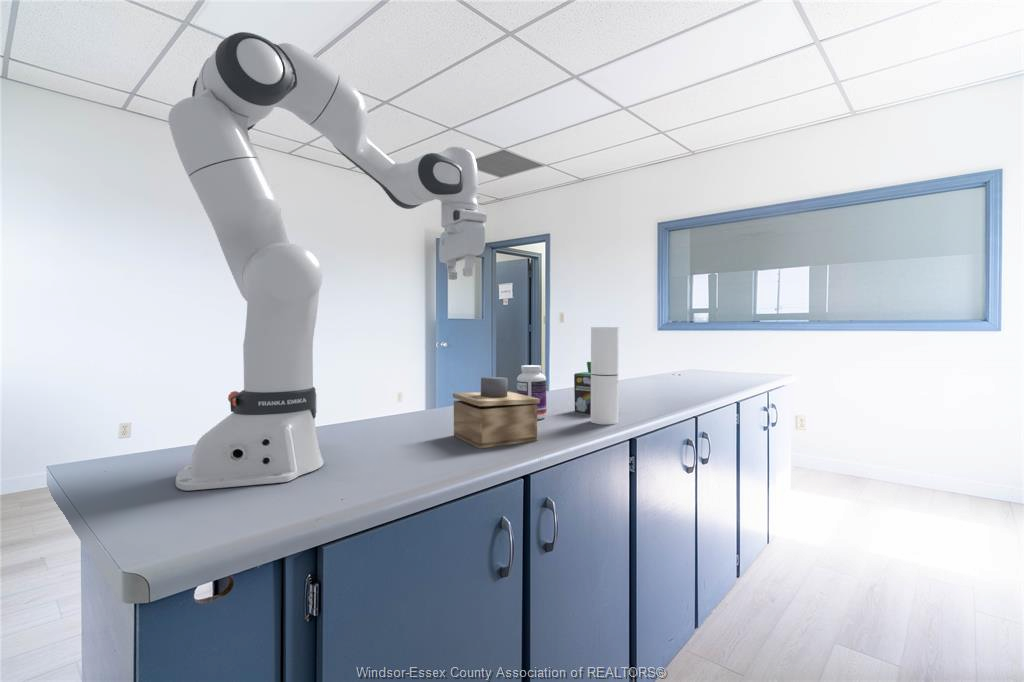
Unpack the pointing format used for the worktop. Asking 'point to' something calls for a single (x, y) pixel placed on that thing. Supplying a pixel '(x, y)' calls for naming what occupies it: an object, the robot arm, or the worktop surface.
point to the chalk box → (583, 390)
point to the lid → (496, 399)
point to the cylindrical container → (604, 374)
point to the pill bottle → (533, 386)
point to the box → (495, 424)
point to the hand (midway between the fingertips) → (460, 278)
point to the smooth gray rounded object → (494, 387)
